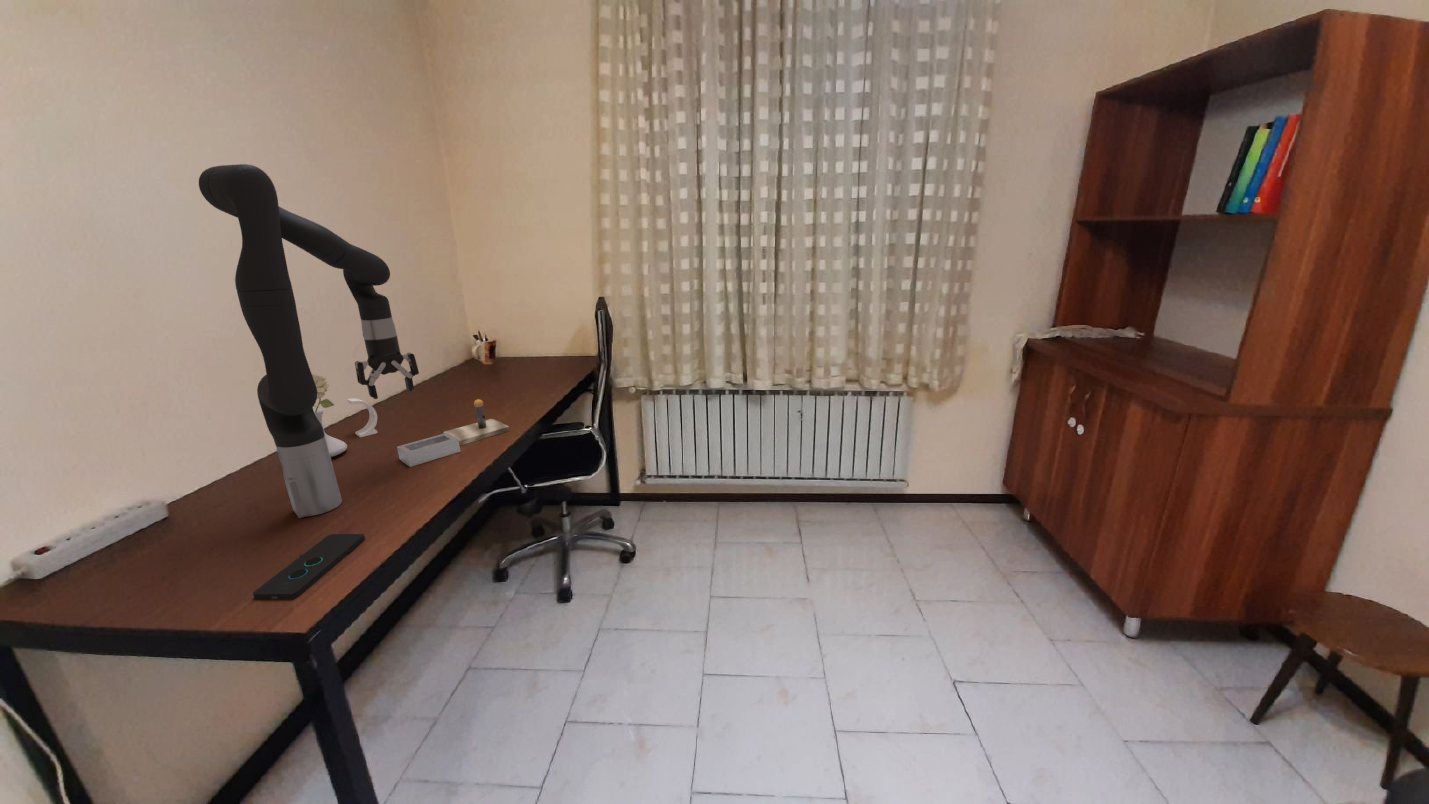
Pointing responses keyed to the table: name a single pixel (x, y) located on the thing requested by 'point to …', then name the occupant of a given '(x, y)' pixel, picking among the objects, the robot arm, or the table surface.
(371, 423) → the headphone stand
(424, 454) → the steel link
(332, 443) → the flower in vase
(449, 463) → the table surface
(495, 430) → the beige plate with rod
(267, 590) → the smart home device
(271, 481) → the table surface
